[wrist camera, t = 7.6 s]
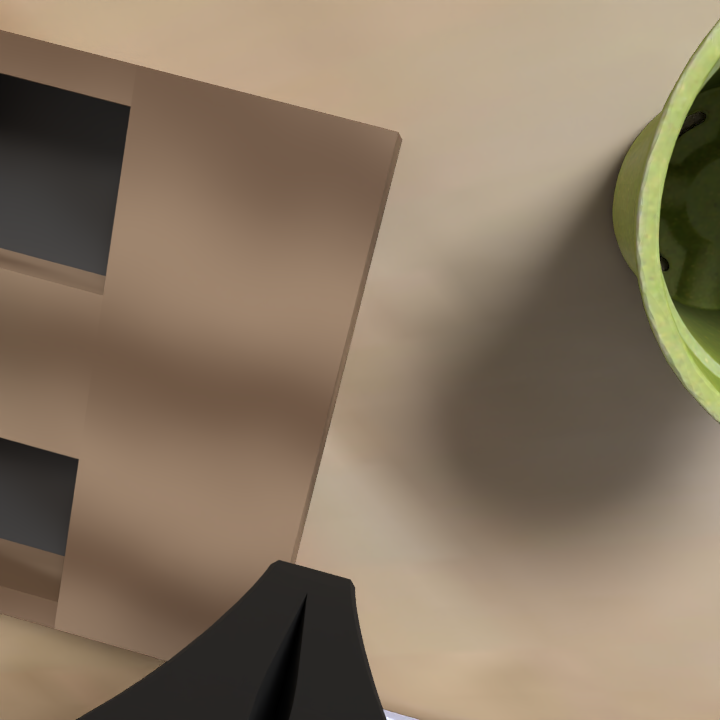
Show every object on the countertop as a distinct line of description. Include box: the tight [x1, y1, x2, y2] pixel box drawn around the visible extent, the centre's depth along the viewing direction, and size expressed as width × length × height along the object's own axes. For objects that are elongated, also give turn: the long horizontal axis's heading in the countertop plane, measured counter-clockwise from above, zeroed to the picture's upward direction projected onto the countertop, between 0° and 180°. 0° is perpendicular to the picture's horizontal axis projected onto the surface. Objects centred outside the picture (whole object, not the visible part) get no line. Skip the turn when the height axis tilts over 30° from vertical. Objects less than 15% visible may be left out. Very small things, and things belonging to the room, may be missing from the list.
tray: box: [0, 30, 402, 661], centre depth 19 cm, size 17×16×4 cm
